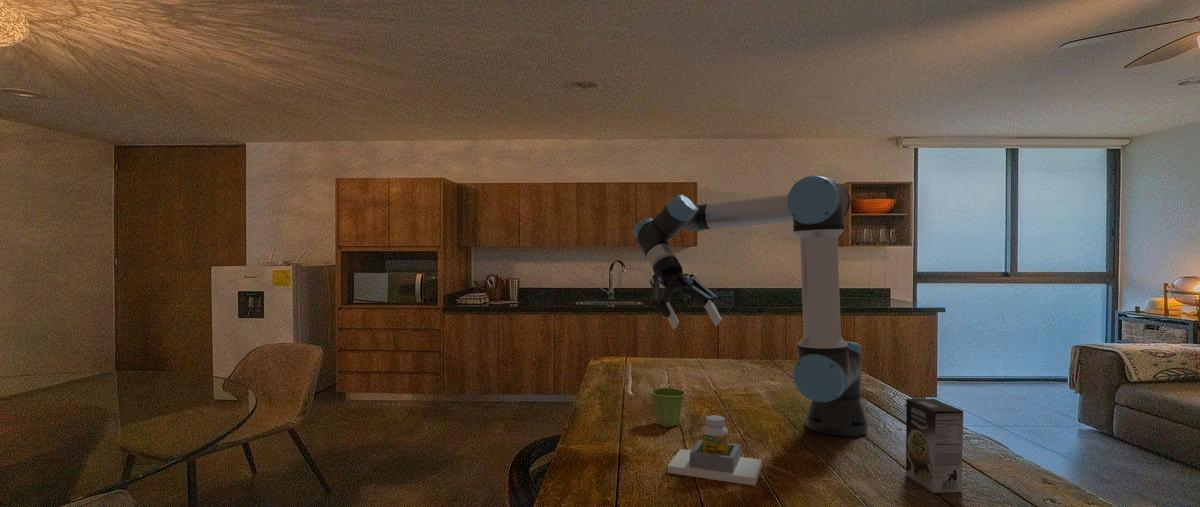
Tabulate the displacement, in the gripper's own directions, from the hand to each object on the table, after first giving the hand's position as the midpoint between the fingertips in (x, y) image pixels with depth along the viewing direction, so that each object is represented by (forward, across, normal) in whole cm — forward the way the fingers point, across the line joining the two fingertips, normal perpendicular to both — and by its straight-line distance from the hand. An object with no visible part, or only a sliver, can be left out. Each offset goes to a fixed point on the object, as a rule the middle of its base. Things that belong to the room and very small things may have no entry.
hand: (697, 324), depth 152 cm
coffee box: (+54, -21, +15) cm, 60 cm away
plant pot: (+13, +3, -26) cm, 29 cm away
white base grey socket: (+36, +13, -3) cm, 38 cm away
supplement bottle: (+35, +13, -2) cm, 37 cm away
